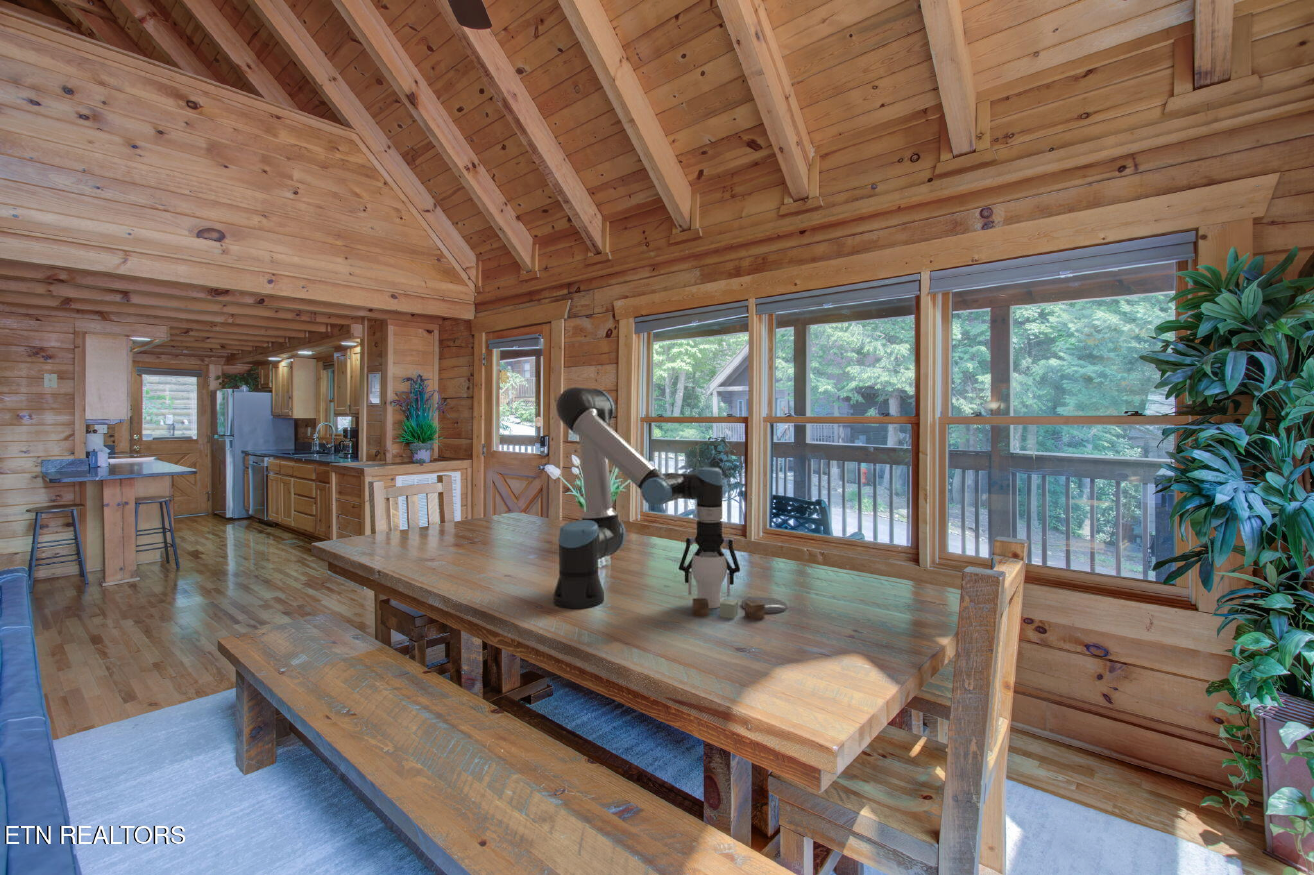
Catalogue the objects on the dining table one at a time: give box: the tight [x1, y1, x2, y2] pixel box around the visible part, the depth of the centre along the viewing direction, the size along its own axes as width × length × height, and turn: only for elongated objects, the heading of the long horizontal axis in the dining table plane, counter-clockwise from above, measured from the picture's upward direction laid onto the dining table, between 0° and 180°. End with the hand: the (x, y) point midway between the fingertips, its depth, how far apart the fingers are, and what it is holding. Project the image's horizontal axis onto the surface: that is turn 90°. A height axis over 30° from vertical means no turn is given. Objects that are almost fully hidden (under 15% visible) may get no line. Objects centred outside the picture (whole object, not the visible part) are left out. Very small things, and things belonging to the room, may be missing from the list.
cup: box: [690, 551, 728, 609], centre depth 173 cm, size 11×11×15 cm
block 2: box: [719, 598, 739, 620], centre depth 163 cm, size 4×4×4 cm
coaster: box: [740, 596, 787, 615], centre depth 171 cm, size 13×13×1 cm
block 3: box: [744, 600, 766, 621], centre depth 162 cm, size 4×4×4 cm
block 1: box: [692, 597, 710, 618], centre depth 164 cm, size 4×4×4 cm
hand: (709, 594), depth 173 cm, fingers closed on cup, 11 cm apart
